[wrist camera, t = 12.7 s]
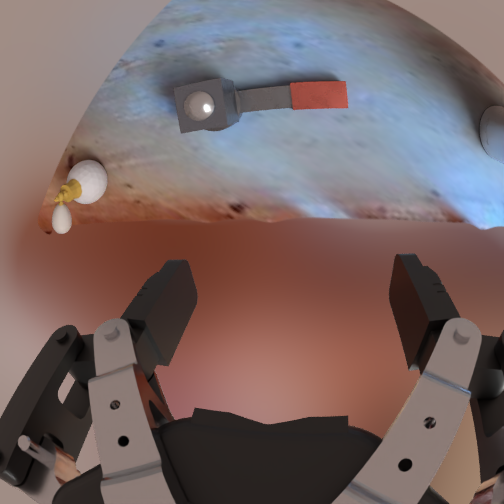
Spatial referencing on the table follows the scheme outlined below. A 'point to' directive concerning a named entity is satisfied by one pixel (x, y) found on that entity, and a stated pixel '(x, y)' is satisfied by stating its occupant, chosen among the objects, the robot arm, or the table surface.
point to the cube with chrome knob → (206, 105)
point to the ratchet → (291, 97)
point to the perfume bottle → (79, 191)
